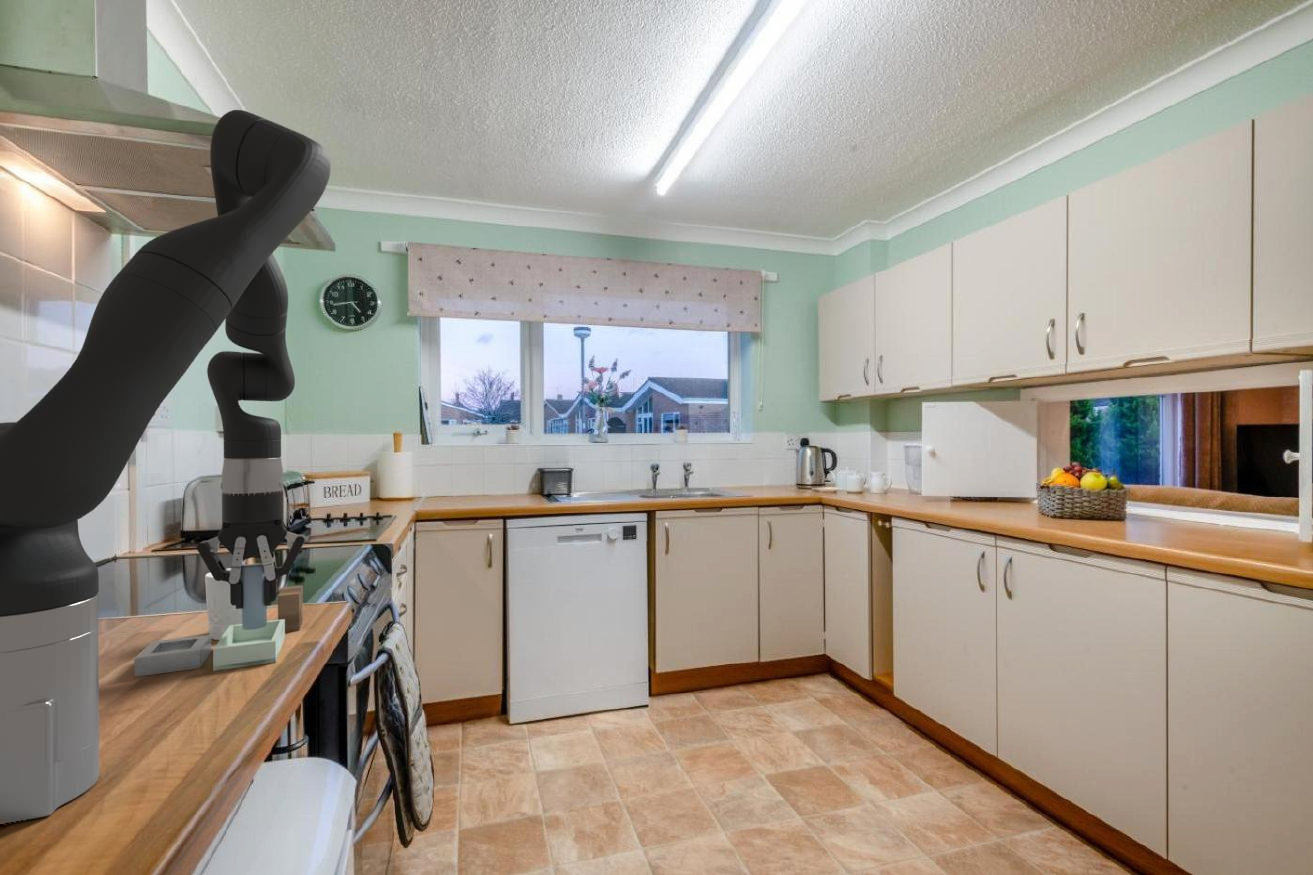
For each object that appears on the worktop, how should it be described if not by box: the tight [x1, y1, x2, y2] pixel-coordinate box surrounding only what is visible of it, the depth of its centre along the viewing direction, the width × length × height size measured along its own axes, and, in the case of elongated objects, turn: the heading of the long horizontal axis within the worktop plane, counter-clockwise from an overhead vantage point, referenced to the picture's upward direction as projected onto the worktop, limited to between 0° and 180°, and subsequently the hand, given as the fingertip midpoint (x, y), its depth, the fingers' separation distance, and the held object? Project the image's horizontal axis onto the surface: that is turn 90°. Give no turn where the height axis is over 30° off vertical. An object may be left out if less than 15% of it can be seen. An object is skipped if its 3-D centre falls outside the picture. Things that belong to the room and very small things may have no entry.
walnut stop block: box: [277, 585, 304, 633], centre depth 100 cm, size 6×3×6 cm, turn 26°
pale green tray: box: [212, 619, 286, 672], centre depth 88 cm, size 11×7×3 cm, turn 26°
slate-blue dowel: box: [242, 562, 268, 630], centre depth 88 cm, size 3×3×9 cm
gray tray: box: [134, 634, 212, 678], centre depth 84 cm, size 7×7×2 cm
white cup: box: [204, 567, 242, 641], centre depth 97 cm, size 8×8×10 cm
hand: (254, 605), depth 88 cm, fingers closed on slate-blue dowel, 3 cm apart
